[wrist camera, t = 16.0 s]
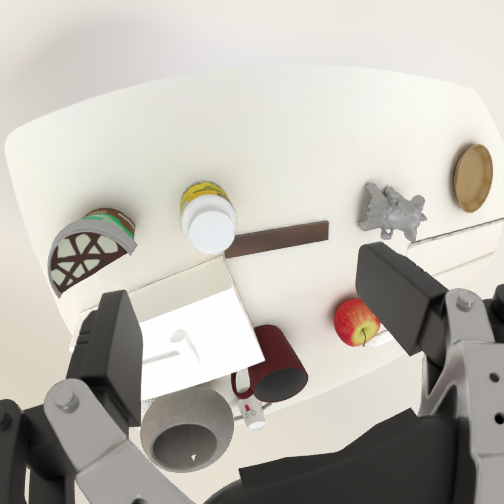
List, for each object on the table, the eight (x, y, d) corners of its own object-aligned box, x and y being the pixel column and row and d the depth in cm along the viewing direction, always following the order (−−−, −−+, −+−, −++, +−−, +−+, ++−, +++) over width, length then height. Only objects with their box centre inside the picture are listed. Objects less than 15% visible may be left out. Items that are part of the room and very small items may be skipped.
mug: (234, 369, 54) (246, 415, 44) (214, 341, 49) (225, 390, 40) (291, 344, 54) (312, 387, 45) (278, 313, 50) (301, 358, 40)
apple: (325, 299, 51) (351, 334, 42) (365, 284, 52) (395, 315, 43) (326, 331, 55) (349, 366, 46) (364, 316, 56) (390, 348, 47)
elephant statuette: (352, 185, 43) (382, 199, 36) (409, 170, 44) (440, 182, 37) (356, 238, 47) (383, 258, 40) (409, 219, 48) (437, 235, 42)
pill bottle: (233, 187, 39) (252, 213, 29) (217, 229, 41) (231, 267, 31) (188, 173, 36) (191, 195, 27) (174, 217, 39) (173, 254, 29)
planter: (217, 365, 52) (237, 452, 36) (229, 385, 56) (250, 465, 39) (132, 389, 51) (131, 471, 35) (149, 407, 54) (153, 484, 38)
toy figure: (265, 375, 57) (278, 408, 49) (276, 387, 60) (288, 418, 52) (216, 399, 57) (223, 431, 50) (229, 409, 60) (236, 440, 52)
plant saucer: (484, 197, 52) (492, 200, 49) (448, 218, 51) (457, 222, 49) (482, 136, 44) (491, 138, 42) (444, 149, 44) (454, 152, 41)
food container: (121, 181, 35) (103, 203, 26) (144, 220, 38) (135, 253, 29) (54, 227, 34) (25, 260, 26) (77, 261, 38) (56, 300, 29)
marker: (358, 341, 60) (413, 316, 62) (360, 349, 60) (415, 324, 62) (363, 343, 58) (420, 318, 60) (365, 352, 58) (421, 326, 59)
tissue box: (251, 324, 50) (269, 371, 40) (126, 368, 48) (122, 416, 39) (222, 255, 43) (236, 298, 33) (81, 312, 41) (64, 360, 32)
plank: (222, 237, 41) (223, 239, 41) (327, 220, 44) (328, 221, 44) (225, 256, 43) (225, 258, 42) (326, 238, 46) (328, 239, 45)
